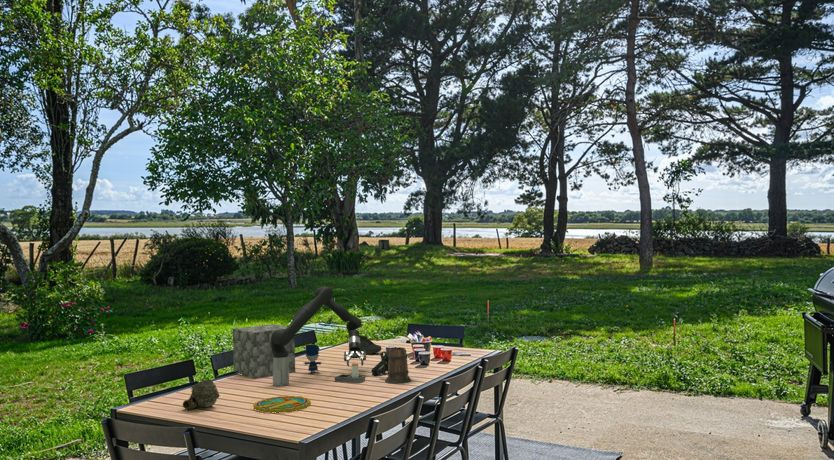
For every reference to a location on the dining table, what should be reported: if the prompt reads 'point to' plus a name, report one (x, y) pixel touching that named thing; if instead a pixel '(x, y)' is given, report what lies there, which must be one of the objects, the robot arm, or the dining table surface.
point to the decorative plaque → (282, 404)
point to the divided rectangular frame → (349, 379)
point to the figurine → (312, 357)
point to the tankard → (395, 366)
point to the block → (258, 351)
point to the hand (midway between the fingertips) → (355, 365)
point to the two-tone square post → (355, 370)
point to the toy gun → (380, 365)
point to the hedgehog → (202, 395)
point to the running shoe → (368, 345)
